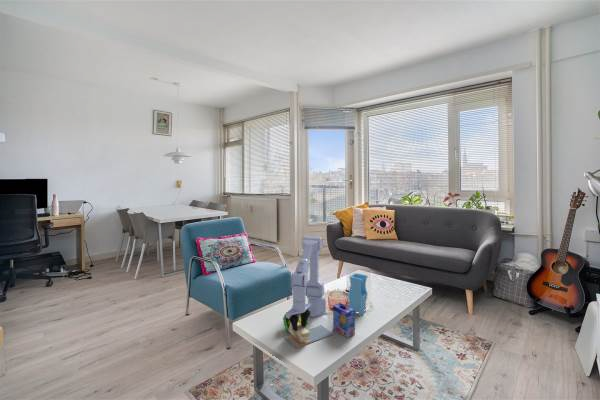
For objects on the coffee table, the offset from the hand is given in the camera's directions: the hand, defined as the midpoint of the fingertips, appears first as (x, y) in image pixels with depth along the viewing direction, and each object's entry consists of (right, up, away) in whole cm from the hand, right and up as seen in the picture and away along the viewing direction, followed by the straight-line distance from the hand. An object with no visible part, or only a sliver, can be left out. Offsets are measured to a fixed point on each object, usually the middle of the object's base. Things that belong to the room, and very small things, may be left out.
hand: (299, 327), depth 133 cm
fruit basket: (-4, -3, +13) cm, 14 cm away
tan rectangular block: (-1, -3, 0) cm, 3 cm away
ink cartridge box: (+21, -5, +8) cm, 23 cm away
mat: (+5, -6, +3) cm, 8 cm away
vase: (+32, -4, +29) cm, 44 cm away
